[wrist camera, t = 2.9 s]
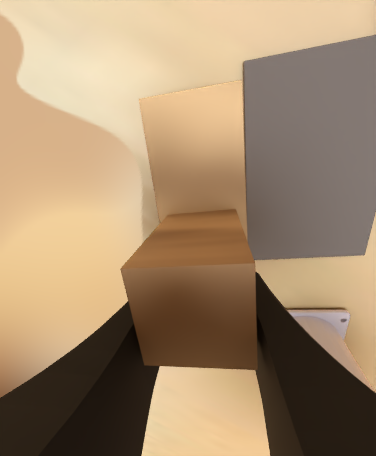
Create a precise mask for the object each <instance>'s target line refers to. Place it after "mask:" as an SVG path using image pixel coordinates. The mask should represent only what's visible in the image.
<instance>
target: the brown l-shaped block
mask: <svg viewBox="0 0 376 456" xmlns="http://www.w3.org/2000/svg"><path fill="white" fill-rule="evenodd" d="M139 103H140V109H141V115H142V121H143V127H144V133H145V139H146V144H147V150H148V156H149V162H150V168H151V174H152V180H153V186H154V191H155V197H156V203H157V209H158V215H159V221H160V224H159V225H158V227H157V228H156V229H155V230H154V231H153V232H152V233H151V235H150V236H149V237H148V238H147V239H146V240H145V241H144V243H143V244H142V245H141V246H140V247H139V248H138V249H137V251H136V252H135V253H134V254H133V255H132V256H131V257H130V259H129V260H128V261H127V262H126V263H125V264H124V266H123V267H122V268H121V273H122V277H123V281H124V285H125V289H126V293H127V297H128V301H129V305H130V309H131V313H132V318H133V322H134V326H135V330H136V334H137V338H138V342H139V346H140V350H141V354H142V358H143V362H144V365H149V366H174V367H198V368H223V369H247V370H258V364H257V323H256V281H255V262H254V259H253V256H252V253H251V250H250V248H249V245H248V241H247V212H246V184H245V155H244V127H243V98H242V80H238V81H233V82H228V83H222V84H217V85H211V86H206V87H201V88H195V89H190V90H185V91H179V92H174V93H168V94H163V95H158V96H152V97H147V98H142V99H139Z"/></svg>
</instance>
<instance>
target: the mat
mask: <svg viewBox="0 0 376 456" xmlns="http://www.w3.org/2000/svg"><path fill="white" fill-rule="evenodd" d="M243 70H244V121H245V172H246V212H247V241H248V245H249V248H250V250H251V253H252V256H253V259H254V260H267V259H290V258H313V257H335V256H358V255H365V252H366V248H367V244H368V240H369V236H370V232H371V228H372V224H373V220H374V216H375V212H376V35H373V36H368V37H363V38H358V39H353V40H348V41H343V42H338V43H333V44H328V45H323V46H318V47H313V48H308V49H303V50H298V51H293V52H288V53H283V54H278V55H273V56H268V57H263V58H258V59H253V60H248V61H244V63H243Z"/></svg>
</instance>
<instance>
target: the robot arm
mask: <svg viewBox="0 0 376 456" xmlns="http://www.w3.org/2000/svg"><path fill="white" fill-rule="evenodd" d="M255 281H256V323H257V364H258V370H255V371H256V375H257V379H258V384H259V388H260V393H261V398H262V403H263V410H264V416H265V423H266V429H267V436H268V442H269V449H270V456H376V393H375V391H374V390H373V388H372V386H371V385H370V383H369V381H368V380H367V378H366V376H365V375H364V373H363V372H362V370H361V368H360V367H359V365H358V363H357V362H356V360H355V358H354V357H353V355H352V354H351V352H350V350H349V349H348V347H347V345H346V344H345V342H344V339H345V335H346V331H347V327H348V323H349V319H350V314H349V312H348V311H347V310H286V309H285V307H284V306H283V305H282V304H281V303H280V302H279V300H278V299H277V298H276V297H275V295H274V294H273V293H272V292H271V290H270V289H269V288H268V286H267V285H266V284H265V282H264V281H263V279H262V278H261V276H260V275H259V274H258V273H257V272H255ZM159 367H160V366H149V365H144V362H143V358H142V354H141V350H140V346H139V342H138V338H137V334H136V330H135V326H134V322H133V318H132V313H131V309H130V305H129V301H128V302H127V303H126V304H125V305H124V306H123V307H122V308H121V309H120V310H119V311H118V312H116V313H115V314H114V315H113V316H112V317H111V318H110V319H109V320H108V321H107V322H106V323H104V324H103V325H102V326H101V327H100V328H99V329H98V330H96V331H95V332H94V333H93V334H92V335H90V336H89V337H88V338H87V339H85V340H84V341H83V342H82V343H80V344H79V345H78V346H77V347H75V348H74V349H73V350H71V351H70V352H69V353H67V354H66V355H64V356H63V357H62V358H60V359H59V360H57V361H56V362H55V363H53V364H52V365H50V366H49V367H48V368H46V369H45V370H43V371H42V372H40V373H39V374H37V375H36V376H34V377H33V378H31V379H30V380H28V381H27V382H25V383H24V384H22V385H20V386H19V387H17V388H16V389H14V390H13V391H11V392H9V393H8V394H6V395H4V396H3V397H1V398H0V456H141V454H142V449H143V443H144V437H145V431H146V425H147V420H148V415H149V409H150V404H151V398H152V394H153V389H154V385H155V381H156V377H157V374H158V370H159Z"/></svg>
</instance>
